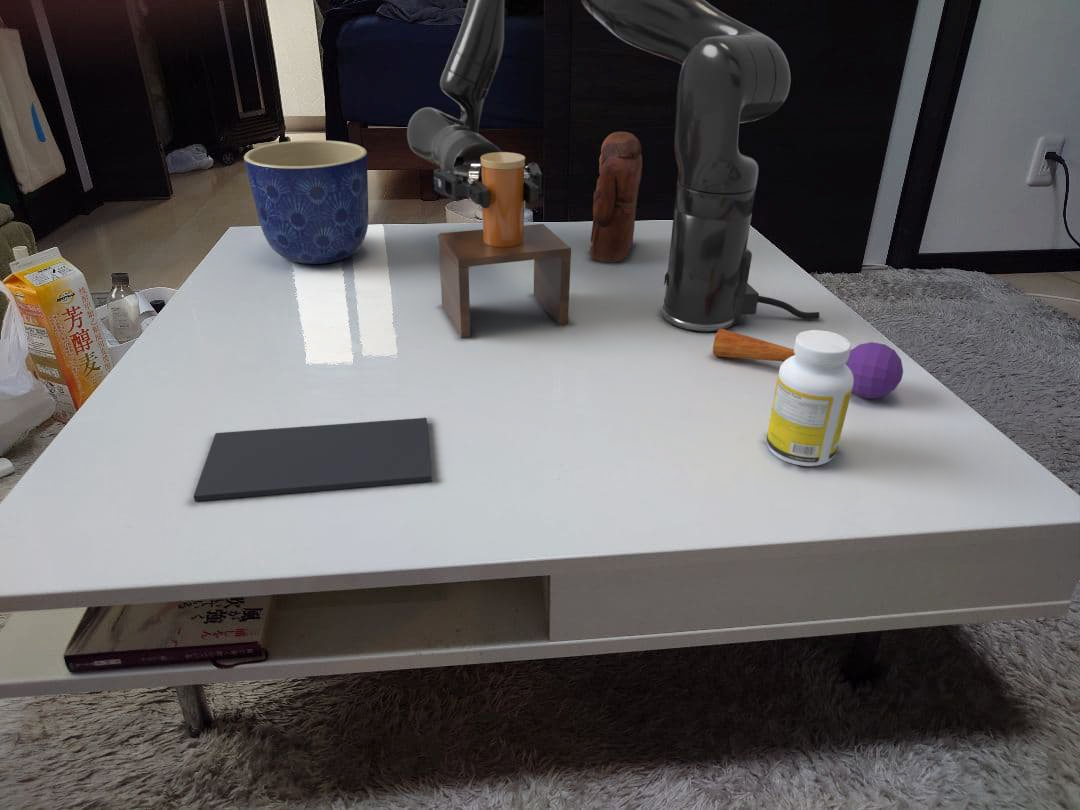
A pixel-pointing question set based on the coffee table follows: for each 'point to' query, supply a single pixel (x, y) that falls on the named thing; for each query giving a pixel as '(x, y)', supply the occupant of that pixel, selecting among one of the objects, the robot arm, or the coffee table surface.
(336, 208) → the planter
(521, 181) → the jar
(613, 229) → the wooden figurine
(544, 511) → the coffee table surface
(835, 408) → the pill bottle
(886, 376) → the purple and wooden maraca
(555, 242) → the shelf
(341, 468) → the mat
